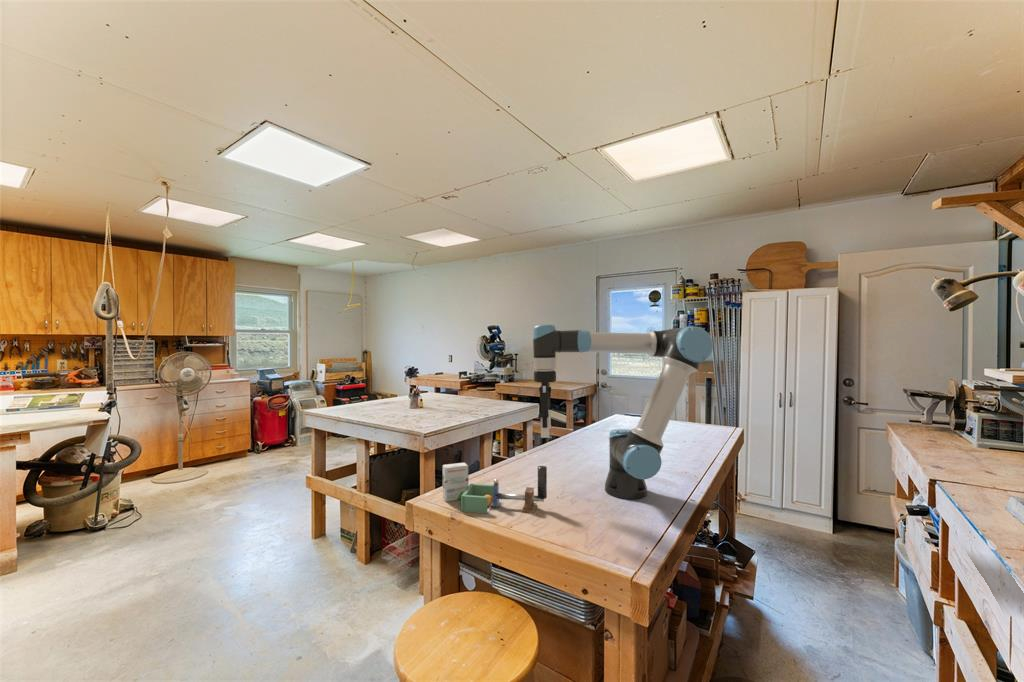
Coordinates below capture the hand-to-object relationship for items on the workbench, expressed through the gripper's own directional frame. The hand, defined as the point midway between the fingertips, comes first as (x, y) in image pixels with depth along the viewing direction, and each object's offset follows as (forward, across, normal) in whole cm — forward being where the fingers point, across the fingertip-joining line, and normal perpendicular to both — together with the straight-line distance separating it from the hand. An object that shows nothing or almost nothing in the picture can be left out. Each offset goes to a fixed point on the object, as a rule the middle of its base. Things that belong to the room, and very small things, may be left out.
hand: (546, 432), depth 133 cm
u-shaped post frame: (+25, +2, -9) cm, 26 cm away
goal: (+24, +2, -24) cm, 35 cm away
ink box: (+24, -4, -33) cm, 41 cm away
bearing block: (+25, +2, -6) cm, 26 cm away
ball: (+23, +2, -20) cm, 31 cm away
